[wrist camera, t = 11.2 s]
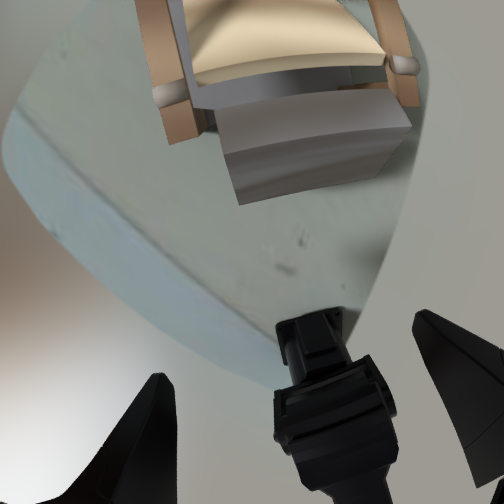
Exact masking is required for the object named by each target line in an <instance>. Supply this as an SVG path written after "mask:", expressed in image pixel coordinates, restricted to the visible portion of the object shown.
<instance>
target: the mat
mask: <svg viewBox="0 0 504 504" xmlns="http://www.w3.org/2000/svg"><path fill="white" fill-rule="evenodd" d="M168 4H169V9H170V13H171V17H172V22H173V26H174V30H175V34H176V39H177V43H178V47H179V51H180V55H181V59H182V63H183V67H184V72H185V76H186V80H187V84H188V88H189V92H190V95H191V99H192V103H193V107H194V108H201V109H204V111H205V115H206V119H207V123H208V126H212V125H216V124H217V123H216V118H215V114H214V111H215V110H219V109H223V108H227V107H232V106H236V105H241V104H246V103H251V102H256V101H261V100H266V99H272V98H278V97H285V96H292V95H299V94H307V93H316V92H326V91H339V89H338V86H346V85H354V84H353V79H352V74H351V69H350V66H327V67H312V68H301V69H292V70H284V71H276V72H269V73H263V74H257V75H251V76H246V77H241V78H236V79H231V80H227V81H222V82H218V83H214V84H210V85H206V86H202V87H198V85H197V82H196V79H195V76H194V72H193V66H192V60H191V53H190V47H189V41H188V34H187V28H186V21H185V14H184V7H183V0H168Z"/></svg>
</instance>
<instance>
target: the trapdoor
mask: <svg viewBox="0 0 504 504" xmlns="http://www.w3.org/2000/svg"><path fill="white" fill-rule="evenodd" d="M183 7H184V14H185V21H186V28H187V34H188V41H189V47H190V53H191V60H192V66H193V72H194V76H195V79H196V82H197V85H198V87H202V86H206V85H210V84H214V83H218V82H222V81H227V80H231V79H236V78H241V77H246V76H251V75H257V74H263V73H269V72H276V71H284V70H292V69H301V68H312V67H327V66H382V63H383V61H384V58H385V55H386V53H385V52H384V51H383V49H382V48H381V47H380V46H379V45H378V43H377V42H376V41H375V40H374V39H373V38H372V37H371V35H370V34H369V33H368V32H367V31H366V30H365V29H364V28H363V27H362V26H361V24H360V23H359V22H358V21H357V20H356V19H355V18H354V17H353V16H352V15H351V14H350V13H349V12H348V11H347V10H346V9H345V8H344V7H343V6H342V5H340V4H339V3H338V2H337V1H336V0H183ZM214 114H215V118H216V123H217V127H218V132H219V136H220V141H221V146H222V150H223V155H224V158H225V161H226V164H227V168H228V171H229V174H230V177H231V181H232V184H233V187H234V190H235V194H236V197H237V200H238V203H239V206H240V205H244V204H248V203H252V202H257V201H261V200H265V199H270V198H274V197H279V196H283V195H288V194H292V193H297V192H302V191H307V190H312V189H316V188H321V187H327V186H332V185H337V184H342V183H347V182H353V181H358V180H364V179H370V178H375V177H376V175H377V174H378V173H379V171H380V170H381V169H382V167H383V166H384V165H385V163H386V162H387V161H388V159H389V158H390V157H391V155H392V154H393V153H394V151H395V150H396V149H397V147H398V146H399V144H400V143H401V142H402V140H403V139H404V138H405V136H406V135H407V133H408V132H409V131H410V129H411V128H412V125H411V123H410V121H409V119H408V117H407V116H406V114H405V112H404V111H403V109H402V107H401V105H400V104H399V102H398V101H397V99H396V97H395V96H394V94H393V93H392V91H391V90H390V89H355V90H339V91H326V92H316V93H307V94H299V95H292V96H285V97H278V98H272V99H266V100H261V101H256V102H251V103H246V104H241V105H236V106H232V107H227V108H223V109H219V110H215V111H214Z"/></svg>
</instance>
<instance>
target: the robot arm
mask: <svg viewBox="0 0 504 504" xmlns="http://www.w3.org/2000/svg"><path fill="white" fill-rule="evenodd" d="M337 312H338V313H337ZM280 327H282V328H280ZM275 329H276V333H277V337H278V342H279V346H280V350H281V355H282V359H283V364H284V365H286V366H289V370H290V374H291V378H292V382H293V386H291V387H288V388H285V389H282V390H281V389H279V390H276V391H274V397H275V398H274V399H273V401H274V440H275V441H276V442H278V443H279V444H280V445H281V446H282V449H283V450H284V452H285V453H286V454H287V455H288V456H290V455H292V457H293V459H294V462H295V465H296V467H297V470H298V472H299V476H300V479H301V483H302V484H303V485H304V486H305V487H306V488H308V489H309V490H310V491H316V490H321V491H322V492H323V493H325V494H327V495H328V496H330V497H331V498H332V499H333V502H334V504H393V502H392V499H391V495H390V492H389V488H388V485H387V482H386V476H387V474H388V471H389V468H390V465H391V464H392V463H394V462H396V460H397V455H398V450H399V447H398V444H397V443H398V441H397V436H396V433H395V430H394V427H393V423H392V420H391V418H393V417H395V416H397V411H396V406H395V402H394V399H393V396H392V394H391V391H390V389H389V387H388V385H387V383H386V381H385V380H384V378H383V376H382V375H381V373H380V371H379V370H378V368H377V366H376V365H375V363H374V362H373V360H372V358H371V357H370V355H369V354H368V355H366V356H364V357H363V358H361V359H359V360H357V361H355V362H352V360H351V357H350V355H349V353H348V351H347V348H346V346H345V344H344V342H343V339H342V311H341V309H340V308H334V309H330V310H326V311H323V312H319V313H315V314H312V315H308V316H304V317H300V318H296V319H292V320H288V321H284V322H280V323H277V324H276V326H275ZM412 333H413V336H414V338H415V340H416V343H417V345H418V348H419V350H420V353H421V355H422V358H423V360H424V363H425V365H426V368H427V370H428V372H429V374H430V376H431V378H432V380H433V382H434V384H435V386H436V388H437V390H438V392H439V394H440V396H441V398H442V400H443V403H444V405H445V407H446V409H447V412H448V414H449V416H450V418H451V420H452V423H453V425H454V427H455V430H456V432H457V435H458V437H459V440H460V443H461V445H462V448H463V449H464V453H465V456H466V459H467V462H468V464H469V467H470V470H471V473H472V476H473V479H474V482H475V485H476V488H479V487H481V486H483V485H485V484H487V483H489V482H491V481H493V480H495V479H497V478H498V477H500V476H502V475H504V350H503V349H501V348H500V349H499V348H498V347H497V346H495V345H493V344H492V343H489V342H488V341H486V340H484V339H482V338H480V337H479V336H477V335H475V334H473V333H471V332H469V331H467V330H465V329H464V328H462V327H460V326H458V325H456V324H454V323H452V322H451V321H449V320H447V319H445V318H443V317H441V316H439V315H437V314H435V313H433V312H431V311H429V310H427V309H423V310H421V311H418V312H417V313H416V314H415V318H414V322H413V326H412ZM0 504H7V503H4V502H0ZM37 504H177V416H176V403H175V391H174V386H173V384H172V383H171V382H170V380H169V379H168V378H167V376H166V375H165V374H164V373H153V374H152V375H151V376H150V378H149V379H148V380H147V382H146V383H145V385H144V386H143V388H142V389H141V390H140V392H139V393H138V395H137V396H136V397H135V399H134V400H133V402H132V403H131V405H130V406H129V407H128V409H127V410H126V412H125V413H124V415H123V416H122V418H121V419H120V420H119V422H118V423H117V425H116V426H115V428H114V429H113V431H112V432H111V433H110V435H109V436H108V438H107V439H106V441H105V442H104V444H103V447H101V448H100V449H99V451H98V452H97V454H96V455H95V456H94V458H93V459H92V461H91V462H90V463H89V465H88V466H87V467H86V468H85V470H84V471H83V472H82V473H81V474H80V476H79V477H78V478H77V479H76V480H75V481H74V482H73V483H72V485H71V486H70V487H69V488H68V489H67V490H66V491H65V492H64V493H63V494H62V495H60V496H59V497H56V498H54V499H51V500H48V501H44V502H41V503H37ZM490 504H504V477H503V478H502V479H500V480H499V482H498V485H497V488H496V491H495V493H494V496H493V498H492V501H491V503H490Z"/></svg>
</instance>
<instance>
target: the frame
mask: <svg viewBox="0 0 504 504" xmlns="http://www.w3.org/2000/svg"><path fill="white" fill-rule="evenodd" d="M368 2H369V5H370V9H371V12H372V15H373V19H374V22H375V26H376V29H377V33H378V37H379V41H380V45H381V48H382V49H383V51H384V52H385V53H386V55H385V58H384V64H385V69H386V74H387V79H388V82H376V83H364V84H355V85H346V86H338V89H339V90H355V89H390V90H391V91H392V93H393V94H394V96H395V97H396V99H397V101H398V102H399V104H400V105H401V107H420V100H419V93H418V86H417V79H416V75H418V74H419V72H420V64H419V62H418V60H417V59H416V58H414V57H412V53H411V48H410V44H409V40H408V36H407V32H406V28H405V24H404V21H403V17H402V14H401V11H400V7H399V4H398V2H397V0H368ZM135 5H136V11H137V16H138V21H139V26H140V30H141V35H142V40H143V44H144V49H145V53H146V58H147V62H148V66H149V70H150V74H151V78H152V83H153V87H154V88H153V97H154V101H155V103H156V105H157V107H158V108H159V110H160V114H161V117H162V121H163V125H164V128H165V132H166V135H167V139H168V142H169V145H171V144H175V143H178V142H181V141H185V140H188V139H191V138H195V137H199V136H200V135H201V134H202V133H203V132H204V131H205V130H206V129H207V128H208V123H207V119H206V115H205V111H204V109H201V108H194V107H193V103H192V99H191V95H190V92H189V88H188V84H187V80H186V76H185V72H184V67H183V63H182V59H181V55H180V51H179V47H178V43H177V39H176V34H175V30H174V26H173V22H172V17H171V13H170V9H169V4H168V0H135Z"/></svg>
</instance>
